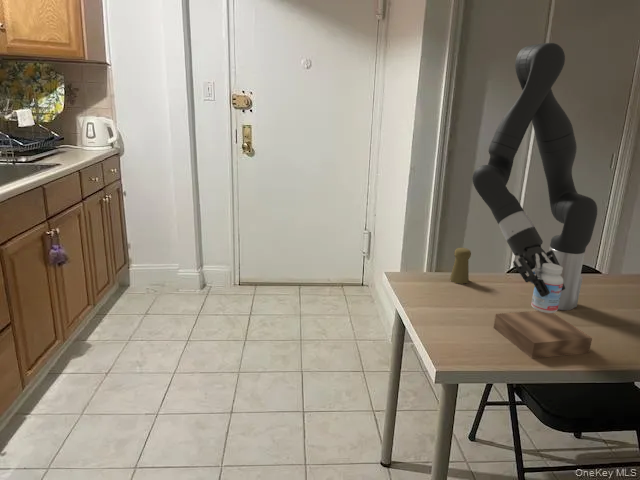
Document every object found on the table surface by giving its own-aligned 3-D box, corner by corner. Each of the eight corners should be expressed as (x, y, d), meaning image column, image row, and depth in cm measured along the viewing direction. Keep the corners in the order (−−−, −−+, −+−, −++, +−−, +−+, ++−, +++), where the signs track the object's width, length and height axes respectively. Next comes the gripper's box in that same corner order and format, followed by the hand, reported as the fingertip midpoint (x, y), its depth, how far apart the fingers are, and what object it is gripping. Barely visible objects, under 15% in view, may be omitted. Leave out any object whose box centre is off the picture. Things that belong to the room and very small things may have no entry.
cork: (469, 285, 163) (473, 252, 160) (449, 282, 164) (454, 250, 161) (467, 278, 169) (472, 246, 166) (449, 276, 170) (453, 245, 167)
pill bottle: (552, 316, 122) (561, 272, 119) (526, 308, 126) (535, 265, 123) (560, 309, 126) (569, 266, 123) (536, 301, 130) (544, 260, 127)
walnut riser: (545, 323, 138) (548, 309, 137) (589, 352, 123) (592, 337, 122) (493, 327, 134) (495, 313, 133) (531, 358, 119) (534, 343, 118)
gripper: (513, 229, 123) (548, 292, 117) (547, 223, 130) (582, 281, 125) (491, 243, 128) (524, 304, 122) (526, 237, 136) (558, 294, 130)
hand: (553, 292), depth 124 cm, fingers closed on pill bottle, 6 cm apart
